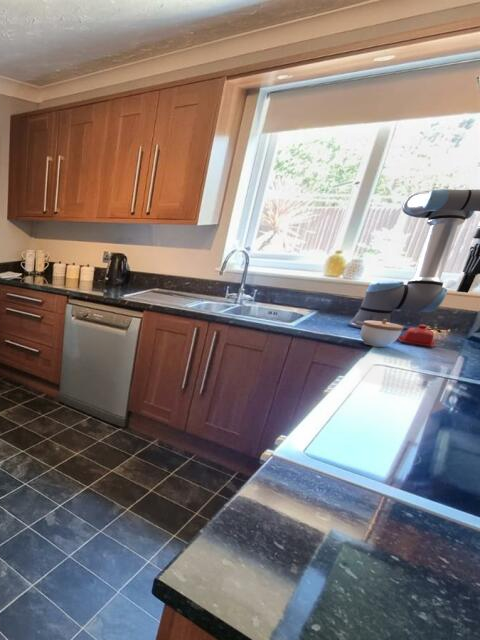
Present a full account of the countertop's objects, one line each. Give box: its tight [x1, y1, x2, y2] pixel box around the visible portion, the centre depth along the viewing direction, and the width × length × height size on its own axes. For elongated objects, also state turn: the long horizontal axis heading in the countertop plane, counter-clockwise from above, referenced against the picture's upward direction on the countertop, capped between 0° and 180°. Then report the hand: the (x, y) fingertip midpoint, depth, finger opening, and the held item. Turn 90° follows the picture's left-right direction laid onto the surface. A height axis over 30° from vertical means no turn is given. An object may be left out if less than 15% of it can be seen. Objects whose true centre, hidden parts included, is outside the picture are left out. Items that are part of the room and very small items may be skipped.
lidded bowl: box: [360, 319, 405, 348], centre depth 179 cm, size 13×13×11 cm
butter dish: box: [398, 323, 436, 348], centre depth 184 cm, size 12×12×8 cm
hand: (462, 292), depth 165 cm, fingers closed
